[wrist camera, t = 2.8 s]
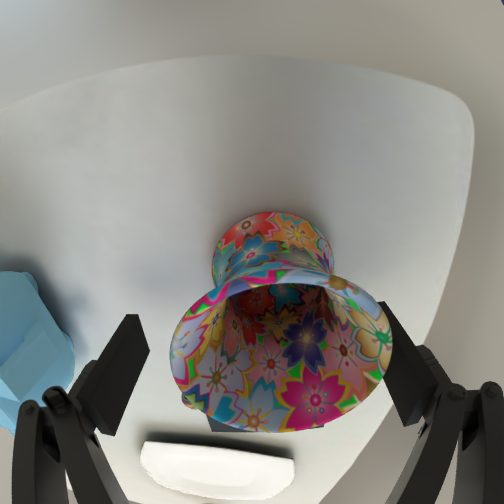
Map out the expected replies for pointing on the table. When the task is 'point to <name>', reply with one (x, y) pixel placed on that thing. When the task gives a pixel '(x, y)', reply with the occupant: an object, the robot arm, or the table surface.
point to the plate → (216, 470)
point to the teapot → (28, 347)
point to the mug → (279, 332)
